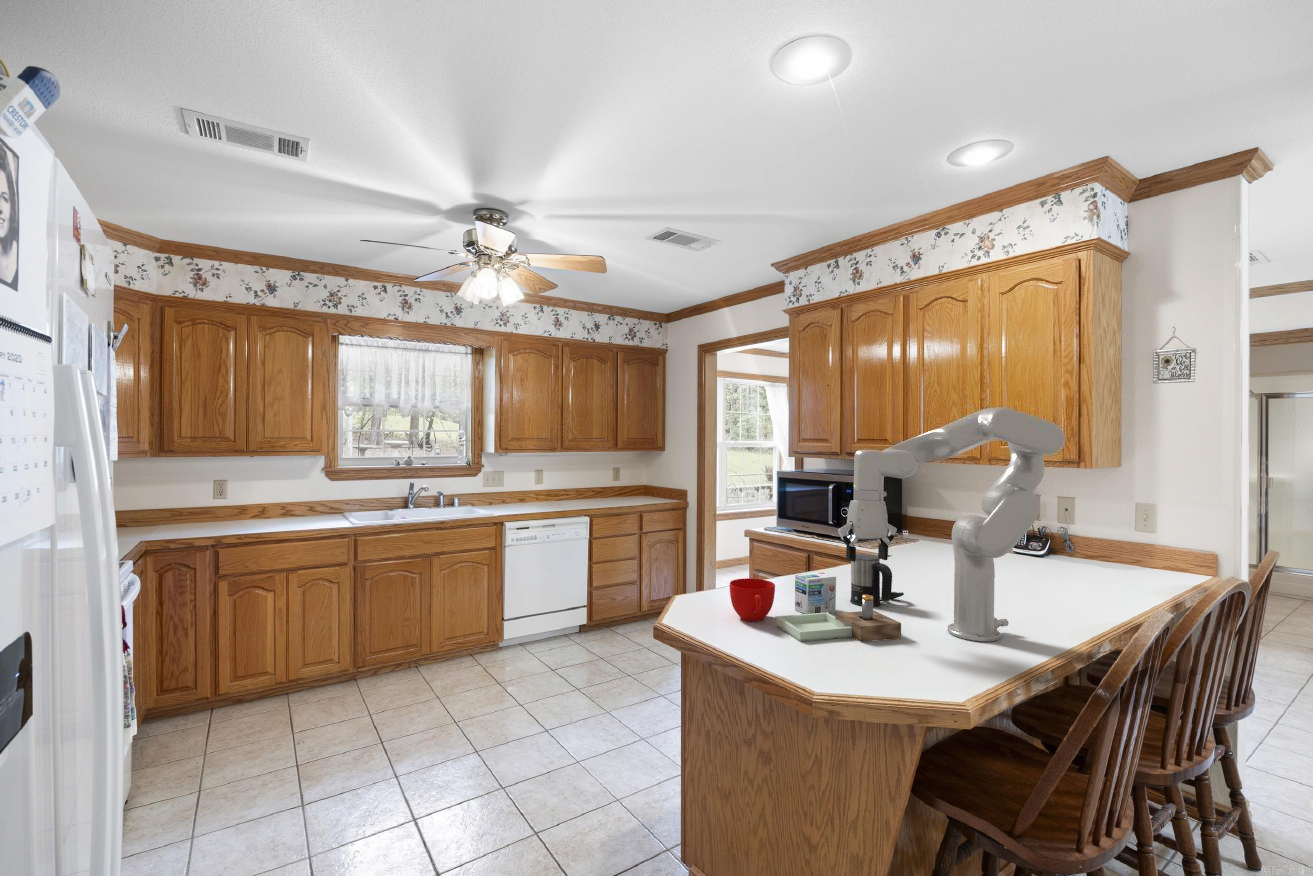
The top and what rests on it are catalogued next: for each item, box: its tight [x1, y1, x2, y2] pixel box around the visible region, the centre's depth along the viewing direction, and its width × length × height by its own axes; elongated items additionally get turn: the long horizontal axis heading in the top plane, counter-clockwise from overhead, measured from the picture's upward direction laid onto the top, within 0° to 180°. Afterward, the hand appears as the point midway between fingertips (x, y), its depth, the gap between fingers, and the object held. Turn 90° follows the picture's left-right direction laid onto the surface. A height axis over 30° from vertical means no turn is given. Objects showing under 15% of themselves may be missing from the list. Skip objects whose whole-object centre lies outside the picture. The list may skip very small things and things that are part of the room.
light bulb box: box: [794, 571, 837, 614], centre depth 186 cm, size 11×7×11 cm, turn 114°
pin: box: [861, 594, 874, 621], centre depth 165 cm, size 3×3×10 cm
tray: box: [774, 612, 852, 643], centre depth 167 cm, size 16×14×2 cm
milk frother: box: [849, 553, 905, 607], centre depth 196 cm, size 14×16×15 cm
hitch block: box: [834, 609, 902, 642], centre depth 165 cm, size 12×12×4 cm
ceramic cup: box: [729, 577, 776, 622], centre depth 176 cm, size 13×17×10 cm
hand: (867, 560), depth 165 cm, fingers open, 9 cm apart
